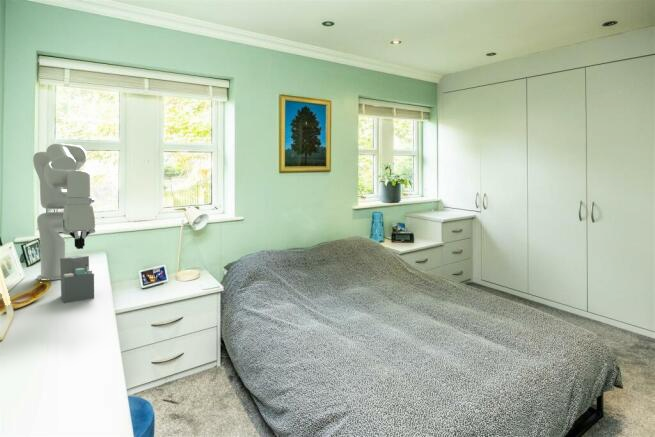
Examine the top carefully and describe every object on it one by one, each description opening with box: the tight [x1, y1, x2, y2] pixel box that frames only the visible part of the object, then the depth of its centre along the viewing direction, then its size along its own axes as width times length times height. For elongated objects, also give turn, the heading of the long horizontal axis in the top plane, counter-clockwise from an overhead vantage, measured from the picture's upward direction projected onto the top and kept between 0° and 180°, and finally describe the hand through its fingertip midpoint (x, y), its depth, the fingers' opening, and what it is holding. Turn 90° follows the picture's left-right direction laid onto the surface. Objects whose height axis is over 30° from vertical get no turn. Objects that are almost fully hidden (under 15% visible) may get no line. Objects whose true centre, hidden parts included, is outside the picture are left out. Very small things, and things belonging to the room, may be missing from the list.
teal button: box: [75, 268, 85, 276], centre depth 147 cm, size 3×3×3 cm
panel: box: [60, 272, 95, 304], centre depth 147 cm, size 4×10×10 cm, turn 139°
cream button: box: [64, 273, 74, 277], centre depth 144 cm, size 3×3×3 cm
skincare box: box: [60, 255, 90, 275], centre depth 153 cm, size 8×7×16 cm
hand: (79, 248), depth 146 cm, fingers closed
